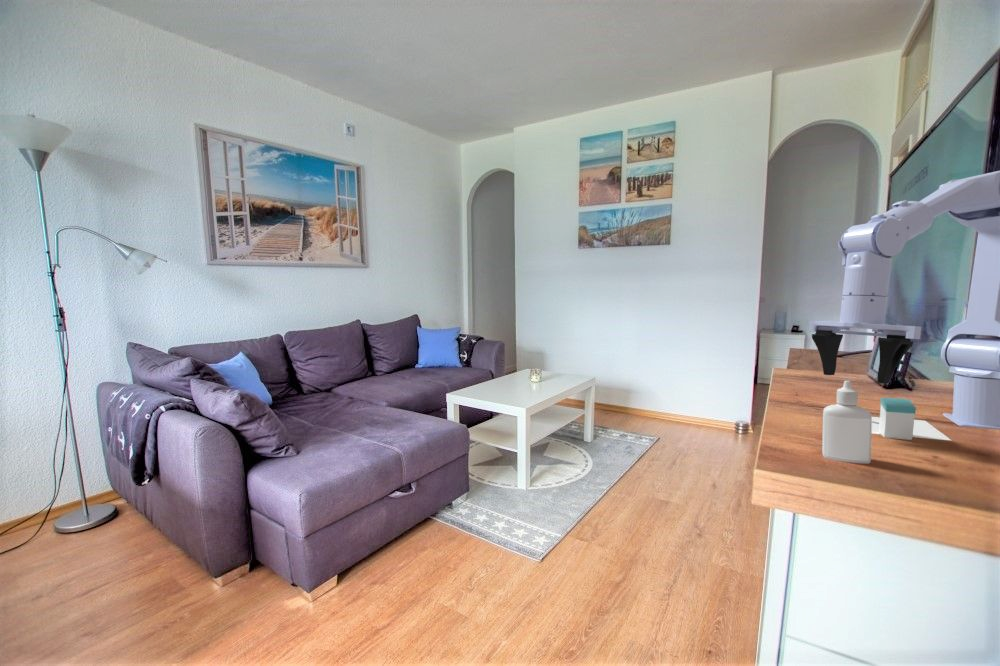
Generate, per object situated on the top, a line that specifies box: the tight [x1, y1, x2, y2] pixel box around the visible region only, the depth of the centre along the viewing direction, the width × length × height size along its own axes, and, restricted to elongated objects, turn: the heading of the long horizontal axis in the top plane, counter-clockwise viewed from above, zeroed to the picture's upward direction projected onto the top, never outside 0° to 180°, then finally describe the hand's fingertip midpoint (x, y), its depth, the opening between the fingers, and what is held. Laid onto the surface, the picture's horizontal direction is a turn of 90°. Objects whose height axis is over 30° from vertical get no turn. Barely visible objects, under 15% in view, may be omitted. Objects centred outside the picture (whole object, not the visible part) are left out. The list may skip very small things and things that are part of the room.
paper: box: [871, 416, 953, 441], centre depth 78 cm, size 12×12×1 cm
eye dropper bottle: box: [821, 380, 873, 465], centre depth 65 cm, size 4×6×12 cm
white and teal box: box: [879, 397, 917, 441], centre depth 73 cm, size 4×4×6 cm
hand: (854, 378), depth 72 cm, fingers open, 7 cm apart
